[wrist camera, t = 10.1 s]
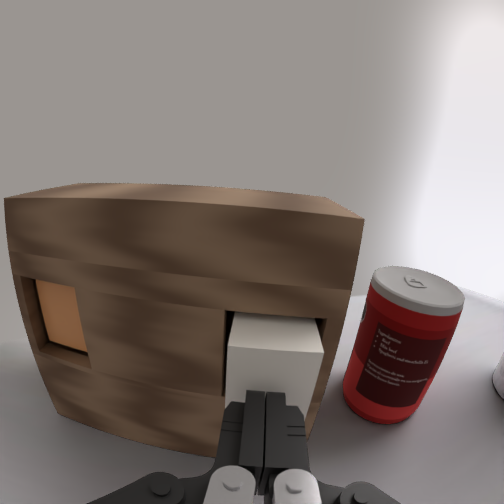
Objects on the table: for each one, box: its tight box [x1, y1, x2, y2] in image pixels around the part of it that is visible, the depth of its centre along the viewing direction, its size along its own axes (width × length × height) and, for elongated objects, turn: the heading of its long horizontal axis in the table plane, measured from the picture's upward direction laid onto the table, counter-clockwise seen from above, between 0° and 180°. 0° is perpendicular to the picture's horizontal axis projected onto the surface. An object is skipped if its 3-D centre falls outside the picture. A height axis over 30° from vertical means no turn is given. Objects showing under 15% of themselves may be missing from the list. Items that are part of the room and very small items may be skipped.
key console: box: [4, 183, 364, 458], centre depth 17 cm, size 18×8×16 cm, turn 87°
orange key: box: [36, 279, 87, 352], centre depth 16 cm, size 4×5×4 cm
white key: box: [225, 311, 324, 421], centre depth 13 cm, size 4×5×4 cm
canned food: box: [343, 266, 465, 424], centre depth 20 cm, size 8×8×11 cm
